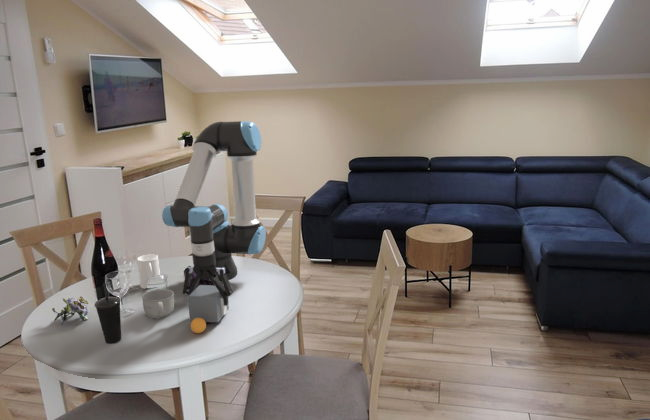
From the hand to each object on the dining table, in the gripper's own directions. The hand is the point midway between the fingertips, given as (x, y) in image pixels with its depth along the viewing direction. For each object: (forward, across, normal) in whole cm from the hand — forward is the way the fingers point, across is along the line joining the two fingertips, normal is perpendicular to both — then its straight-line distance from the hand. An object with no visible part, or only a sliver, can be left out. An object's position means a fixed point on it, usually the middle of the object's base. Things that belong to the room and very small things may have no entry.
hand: (209, 312), depth 178 cm
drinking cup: (+2, -26, -18) cm, 32 cm away
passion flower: (+3, -48, -8) cm, 49 cm away
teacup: (+3, -19, 0) cm, 19 cm away
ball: (0, 0, -10) cm, 10 cm away
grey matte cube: (+1, 0, 0) cm, 1 cm away
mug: (+3, -36, +25) cm, 44 cm away
